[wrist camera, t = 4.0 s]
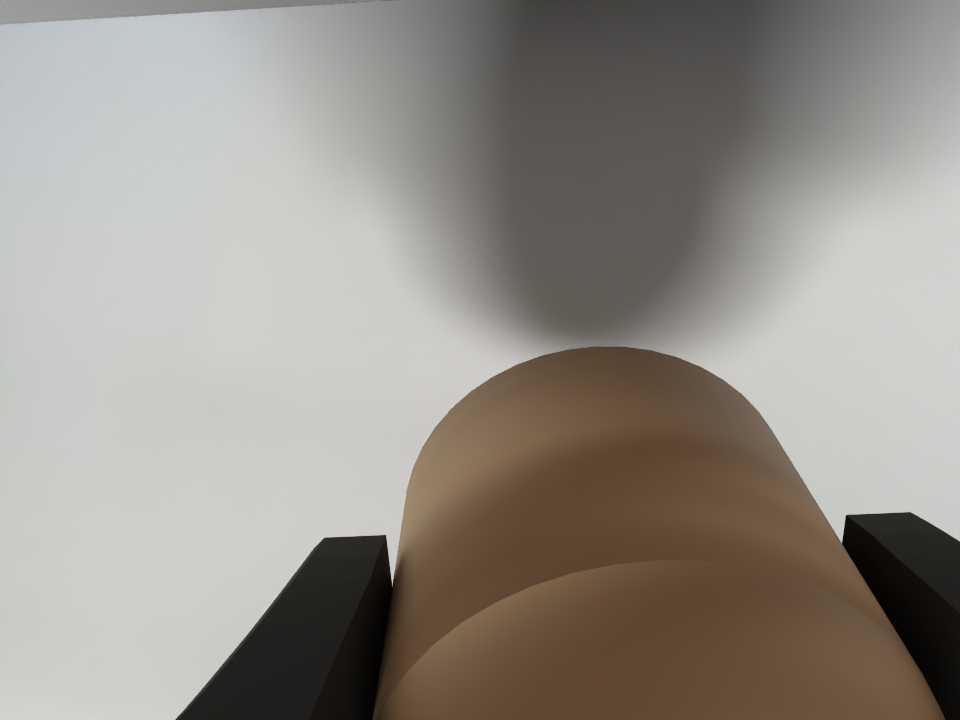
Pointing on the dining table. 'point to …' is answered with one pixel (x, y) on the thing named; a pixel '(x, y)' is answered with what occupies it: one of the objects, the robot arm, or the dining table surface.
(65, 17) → the egg tray
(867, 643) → the brown egg
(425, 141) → the dining table surface
